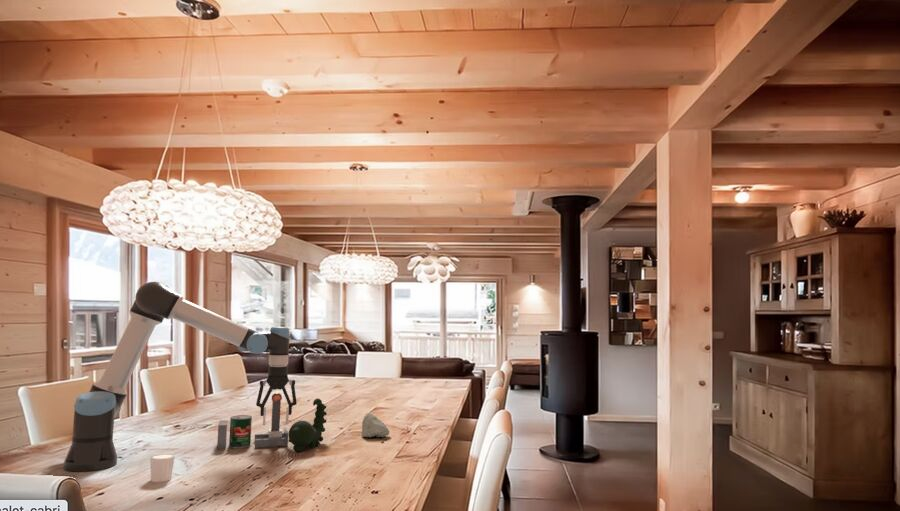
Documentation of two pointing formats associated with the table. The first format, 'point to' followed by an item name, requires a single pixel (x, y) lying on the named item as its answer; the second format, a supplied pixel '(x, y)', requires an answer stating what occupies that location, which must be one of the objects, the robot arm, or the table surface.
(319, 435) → the toy figurine
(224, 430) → the press frame
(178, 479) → the table surface
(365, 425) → the decorative stone
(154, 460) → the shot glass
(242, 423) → the canned tomato
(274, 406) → the ball-tipped square rod
